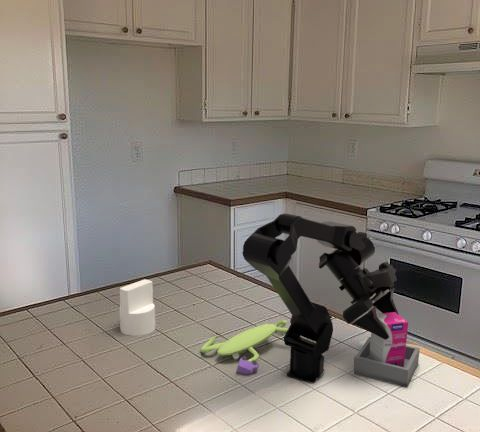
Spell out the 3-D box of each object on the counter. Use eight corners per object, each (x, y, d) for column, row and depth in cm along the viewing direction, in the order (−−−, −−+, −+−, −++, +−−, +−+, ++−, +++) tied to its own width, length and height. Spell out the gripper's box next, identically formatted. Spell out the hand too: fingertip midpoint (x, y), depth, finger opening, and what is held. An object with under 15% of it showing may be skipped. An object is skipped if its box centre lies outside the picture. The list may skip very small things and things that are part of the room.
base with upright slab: (136, 339, 135) (135, 293, 133) (113, 329, 141) (110, 285, 138) (162, 327, 142) (161, 283, 140) (139, 318, 148) (137, 276, 145)
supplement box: (381, 373, 118) (385, 324, 115) (368, 360, 124) (371, 313, 121) (404, 369, 119) (409, 321, 117) (390, 357, 125) (394, 310, 122)
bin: (353, 373, 120) (354, 357, 119) (368, 352, 129) (369, 336, 129) (407, 387, 114) (408, 370, 113) (418, 364, 124) (419, 348, 123)
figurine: (330, 359, 127) (331, 337, 126) (226, 384, 115) (226, 360, 114) (289, 328, 143) (289, 308, 142) (194, 348, 132) (194, 326, 130)
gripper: (360, 265, 110) (410, 328, 107) (388, 243, 126) (433, 298, 122) (322, 293, 116) (369, 354, 113) (354, 270, 132) (396, 322, 128)
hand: (394, 330), depth 119 cm, fingers open, 9 cm apart
